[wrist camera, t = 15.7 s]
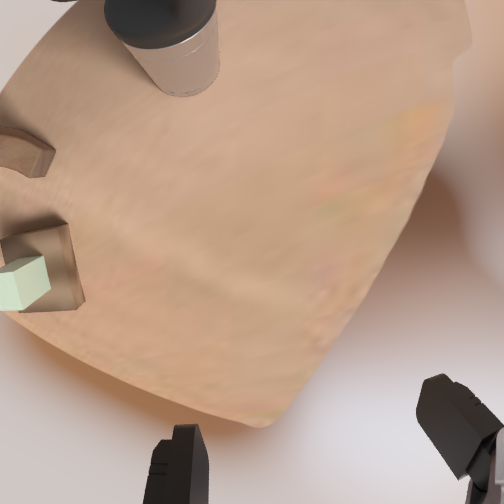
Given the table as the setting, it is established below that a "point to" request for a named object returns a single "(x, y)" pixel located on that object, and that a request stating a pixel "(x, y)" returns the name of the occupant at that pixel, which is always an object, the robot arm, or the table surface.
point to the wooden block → (24, 153)
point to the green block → (23, 282)
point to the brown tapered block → (49, 266)
